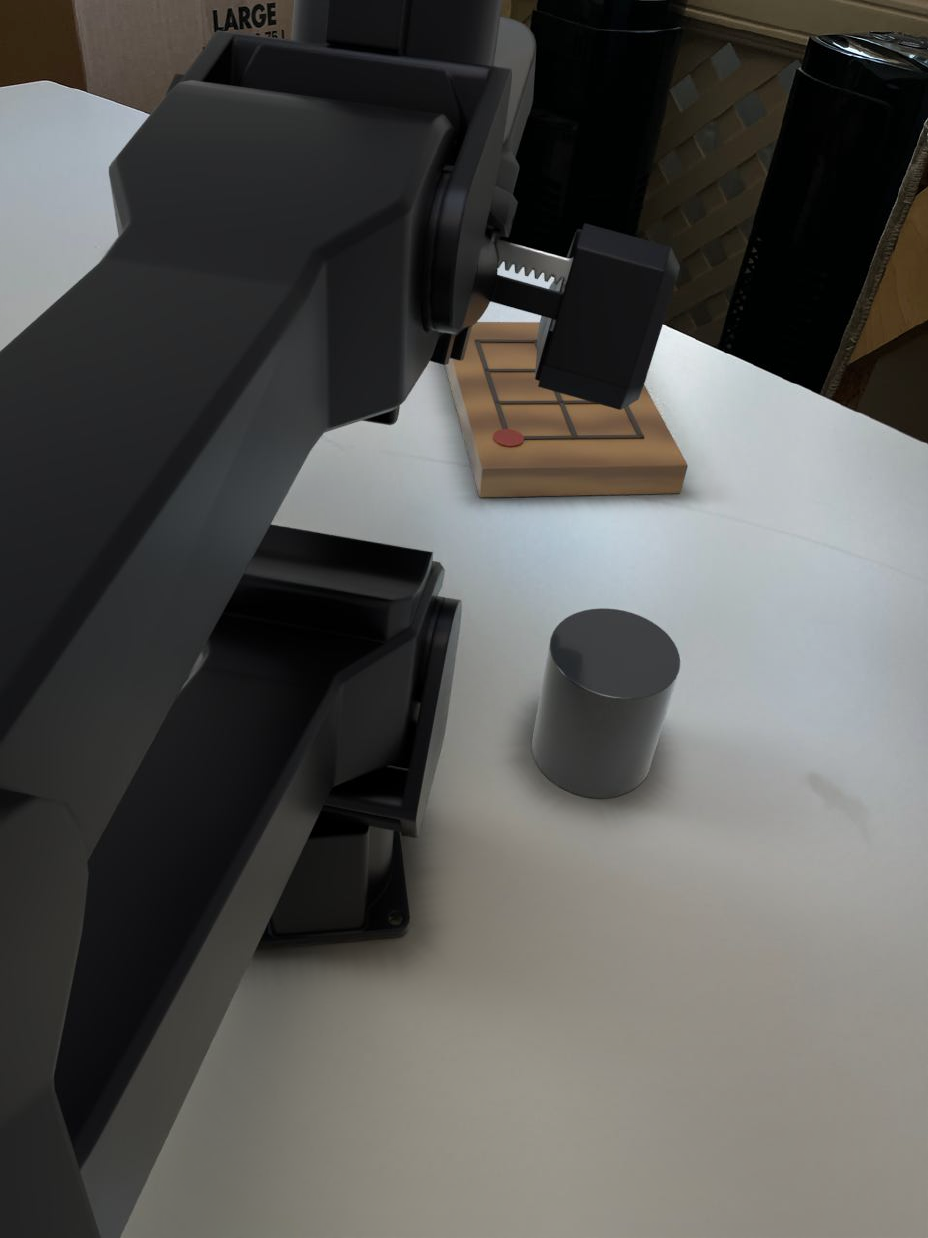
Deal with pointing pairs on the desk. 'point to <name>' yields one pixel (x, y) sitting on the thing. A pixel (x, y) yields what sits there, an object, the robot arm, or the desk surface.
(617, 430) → the board
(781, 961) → the desk surface
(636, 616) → the dark grey cylinder
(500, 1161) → the desk surface
